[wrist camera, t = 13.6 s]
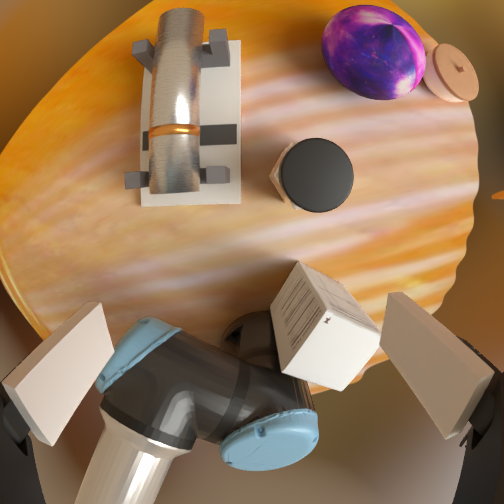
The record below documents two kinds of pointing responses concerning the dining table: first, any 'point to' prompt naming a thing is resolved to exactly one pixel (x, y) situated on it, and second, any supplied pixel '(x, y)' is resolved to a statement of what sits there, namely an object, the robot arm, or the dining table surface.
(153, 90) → the steel tube
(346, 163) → the jar
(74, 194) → the dining table surface
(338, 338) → the supplement box
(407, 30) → the decorative orb
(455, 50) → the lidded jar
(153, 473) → the robot arm
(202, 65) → the cradle stand
